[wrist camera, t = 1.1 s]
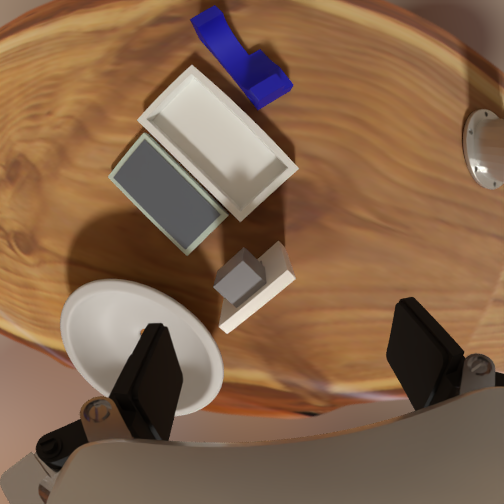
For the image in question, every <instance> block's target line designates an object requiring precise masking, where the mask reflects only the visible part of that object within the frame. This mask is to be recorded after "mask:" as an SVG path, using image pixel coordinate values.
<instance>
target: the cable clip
mask: <svg viewBox="0 0 504 504" xmlns="http://www.w3.org/2000/svg"><path fill="white" fill-rule="evenodd" d="M190 20H191V22H192V24H193V27H194V29H195V31H196V33H197V35H198V37H199V39H200V40H201V41H202V43H203V44H204V45H205V46H206V47H207V48H208V49H209V51H210V52H211V53H212V54H213V55H214V56H215V58H216V59H217V60H218V61H219V62H220V63H221V65H222V66H223V67H224V68H225V69H226V71H227V72H228V73H229V74H230V76H231V77H232V78H233V79H234V81H235V82H236V83H237V84H238V86H239V87H240V88H241V89H242V91H243V92H244V93H245V95H246V96H247V97H248V98H249V100H250V101H251V102H252V104H253V105H254V106H255V108H256V109H257V110H259V109H261V108H262V107H264V106H266V105H267V104H269V103H271V102H272V101H274V100H276V99H277V98H279V97H281V96H282V95H284V94H286V93H287V92H289V91H290V90H291V89H292V87H293V84H292V82H291V81H290V80H289V78H288V77H287V76H286V75H285V73H284V72H283V71H282V70H281V68H280V67H279V66H278V65H276V64H275V63H274V62H272V61H271V60H270V59H269V58H268V57H267V56H266V55H265V54H264V53H263V52H262V51H261V49H260V50H258V51H256V52H254V53H252V54H251V55H248V53H247V52H246V51H245V50H244V48H243V47H242V46H241V44H240V43H239V42H238V40H237V39H236V37H235V36H234V34H233V33H232V31H231V30H230V28H229V26H228V24H227V22H226V20H225V18H224V15H223V13H222V12H221V11H220V10H219V9H218V8H217V7H216V6H215V5H214V6H212V7H211V8H209V9H207V10H205V11H204V12H202V13H200V14H198V15H197V16H195V17H193V18H192V19H190Z"/></svg>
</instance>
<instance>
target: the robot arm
mask: <svg viewBox="0 0 504 504" xmlns="http://www.w3.org/2000/svg"><path fill="white" fill-rule="evenodd" d="M463 149H464V155H465V160H466V163H467V166H468V169H469V171H470V173H471V175H472V177H473V178H474V180H475V181H476V182H477V183H478V184H479V185H481V186H482V187H484V188H487V189H496V188H499V187H500V186H501V185H502V184H503V183H504V119H499V117H498V116H497V115H496V114H495V113H493V112H492V111H490V110H487V109H479V110H475V111H474V112H472V113H471V114H470V115H469V117H468V119H467V121H466V124H465V127H464V133H463ZM463 354H464V351H463V349H462V348H461V347H460V346H459V345H458V344H457V343H456V342H455V340H454V339H453V338H452V337H451V336H450V335H449V334H448V333H447V332H446V331H445V329H444V328H443V327H442V326H441V325H440V324H439V323H438V322H437V321H436V320H435V319H434V318H433V317H432V316H431V315H430V314H429V313H428V311H427V310H426V309H425V308H424V307H423V306H422V305H421V304H420V303H419V302H418V301H417V300H416V299H415V298H414V297H409V298H403V299H400V301H399V303H397V304H396V306H395V312H394V318H393V323H392V328H391V333H390V338H389V343H388V348H387V352H386V357H387V360H388V362H389V364H390V366H391V368H392V369H393V371H394V373H395V375H396V376H397V378H398V380H399V382H400V383H401V385H402V387H403V389H404V391H405V392H406V394H407V396H408V398H409V400H410V402H411V404H412V405H413V407H414V409H415V411H414V412H411V413H408V414H405V415H401V416H398V417H395V418H392V419H388V420H384V421H381V422H377V423H373V424H369V425H365V426H361V427H356V428H352V429H347V430H342V431H337V432H332V433H326V434H320V435H314V436H307V437H300V438H291V439H282V440H272V441H258V442H234V443H233V442H232V443H208V442H207V443H206V442H179V441H169V437H170V432H171V428H172V424H173V420H174V416H175V412H176V408H177V404H178V400H179V396H180V392H181V388H182V384H183V374H182V371H181V368H180V365H179V362H178V359H177V355H176V352H175V349H174V346H173V342H172V339H171V336H170V332H169V329H168V327H167V326H164V325H163V323H148V325H147V326H146V328H145V330H144V332H143V334H142V335H141V337H140V339H139V341H138V343H137V345H136V347H135V349H134V350H133V352H132V354H131V355H130V356H129V358H128V360H127V362H126V364H125V365H124V367H123V369H122V371H121V373H120V375H119V377H118V379H117V381H116V383H115V385H114V387H113V389H112V391H111V393H110V395H109V397H104V396H100V397H95V398H92V399H90V400H88V401H87V402H86V403H84V404H83V406H82V408H81V410H80V418H81V419H80V420H77V421H75V422H73V423H71V424H68V425H67V426H64V427H62V428H59V429H57V430H55V431H52V432H50V433H48V434H46V435H44V436H42V437H41V438H40V439H39V441H38V443H37V445H36V453H35V454H33V453H32V452H30V453H29V454H28V455H26V456H25V457H24V458H22V459H21V460H20V461H19V462H17V463H16V464H15V465H13V466H12V467H11V468H9V469H8V470H7V471H5V472H4V473H3V475H2V476H1V479H0V485H1V488H2V490H3V492H4V494H5V496H6V497H7V499H8V501H9V503H10V504H504V374H502V373H498V372H495V365H494V363H493V361H492V360H491V359H490V358H489V357H487V356H485V355H483V354H476V353H475V354H471V355H469V356H467V357H466V358H465V357H464V356H463Z"/></svg>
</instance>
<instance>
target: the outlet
mask: <svg viewBox="0 0 504 504" xmlns="http://www.w3.org/2000/svg"><path fill="white" fill-rule="evenodd" d="M295 279H296V277H295V274H294V271H293V268H292V266H291V263H290V260H289V257H288V254H287V251H286V248H285V247H284V246H283V245H282V244H281V243H280V241H277V242H276V243H275V244H274V245H273V246H272V247H271V248H270V249H268V250H267V251H266V252H265V253H264V254H263V255H262V256H261V257H259V258H258V259H256V258H255V257H254V256H253V255H252V254H251V253H250V252H249V251H248V250H247V249H246V248H245V247H243V248H242V249H241V250H240V251H239V252H238V253H237V254H236V255H235V256H233V257H232V258H231V259H230V260H229V261H228V262H227V263H226V264H225V265H224V266H223V267H221V268H220V269H219V270H218V272H217V275H216V279H215V282H214V286H213V288H214V289H216V290H217V291H218V292H219V293H220V294H221V295H222V296H223V297H224V300H223V305H222V311H221V316H220V322H219V328H221V329H222V330H223V331H224V332H226V333H227V334H228V333H229V332H230V331H232V330H233V329H234V328H236V327H237V326H238V325H239V324H241V323H242V322H243V321H244V320H246V319H247V318H248V317H249V316H251V315H252V314H253V313H254V312H256V311H257V310H258V309H259V308H261V307H262V306H263V305H264V304H266V303H267V302H268V301H269V300H271V299H272V298H273V297H274V296H275V295H277V294H278V293H279V292H280V291H282V290H283V289H284V288H285V287H286V286H288V285H289V284H290V283H291V282H292V281H294V280H295Z"/></svg>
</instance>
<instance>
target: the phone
mask: <svg viewBox="0 0 504 504" xmlns="http://www.w3.org/2000/svg"><path fill="white" fill-rule="evenodd" d="M108 177H109V179H110V180H111V181H112V182H113V183H114V184H115V185H116V186H117V187H118V188H119V189H120V190H121V191H122V192H123V193H124V194H125V195H126V196H127V197H128V198H129V199H130V200H131V201H132V202H133V203H134V204H135V205H136V206H137V207H138V208H139V210H140V211H141V212H142V213H143V214H144V215H145V216H146V217H147V218H148V219H149V220H150V221H151V222H152V223H153V224H154V225H156V226H157V227H158V228H159V229H160V230H161V231H162V232H163V233H164V234H165V235H166V236H167V237H168V238H169V239H170V240H171V241H172V242H173V243H174V244H175V245H176V246H177V247H178V248H179V249H180V250H181V251H182V252H183V253H184V254H185V255H186V256H188V255H189V254H190V253H191V252H192V251H193V250H194V249H195V248H196V247H197V246H198V245H199V244H200V243H201V242H202V241H203V240H204V239H205V238H206V237H207V236H208V235H209V234H210V233H211V232H212V231H213V230H214V229H215V228H216V227H217V226H218V225H219V224H220V223H221V222H222V221H224V220H225V219H226V218H227V217H228V215H229V213H228V212H227V211H226V210H225V209H224V208H223V207H222V206H221V205H220V204H219V203H218V202H217V201H216V200H215V199H214V198H213V197H212V196H211V195H210V194H209V193H208V192H207V191H206V190H205V189H204V188H203V187H202V186H201V185H200V184H199V183H198V182H197V181H196V180H195V179H194V178H193V177H192V176H191V175H190V174H189V173H188V172H187V171H186V170H185V169H183V168H182V167H181V166H180V165H179V164H178V163H177V162H176V161H175V160H174V159H173V158H172V157H171V156H170V155H169V154H168V153H167V152H166V151H165V150H164V149H163V148H162V147H161V146H160V145H159V144H158V143H157V142H156V141H155V140H154V139H153V138H152V137H151V136H150V135H149V134H148V133H143V134H142V135H141V136H140V138H139V139H138V140H137V141H136V142H135V143H134V145H133V146H132V147H131V148H130V149H129V151H128V152H127V153H126V154H125V156H124V157H123V158H122V159H121V161H120V162H119V163H118V164H117V166H116V167H115V168H114V170H113V171H112V172H111V174H110V175H109V176H108Z"/></svg>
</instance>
